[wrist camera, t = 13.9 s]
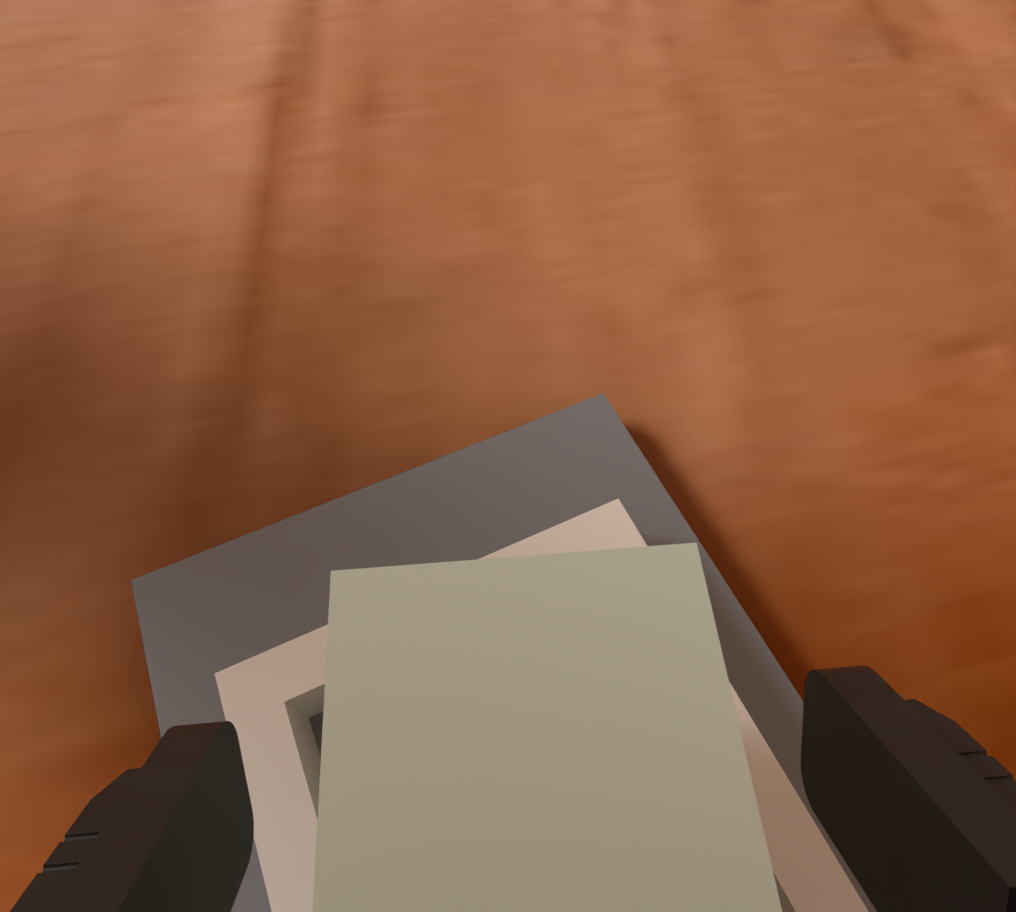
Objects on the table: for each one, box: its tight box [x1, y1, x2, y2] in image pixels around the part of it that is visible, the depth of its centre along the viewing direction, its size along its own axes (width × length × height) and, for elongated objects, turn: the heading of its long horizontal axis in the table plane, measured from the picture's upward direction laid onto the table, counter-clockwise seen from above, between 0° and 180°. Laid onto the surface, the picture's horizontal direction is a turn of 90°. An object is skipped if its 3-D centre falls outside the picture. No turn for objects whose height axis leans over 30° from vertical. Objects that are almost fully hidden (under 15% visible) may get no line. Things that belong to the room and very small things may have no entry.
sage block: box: [313, 543, 782, 912], centre depth 11 cm, size 4×4×10 cm
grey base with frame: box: [131, 393, 877, 912], centre depth 15 cm, size 18×14×4 cm
